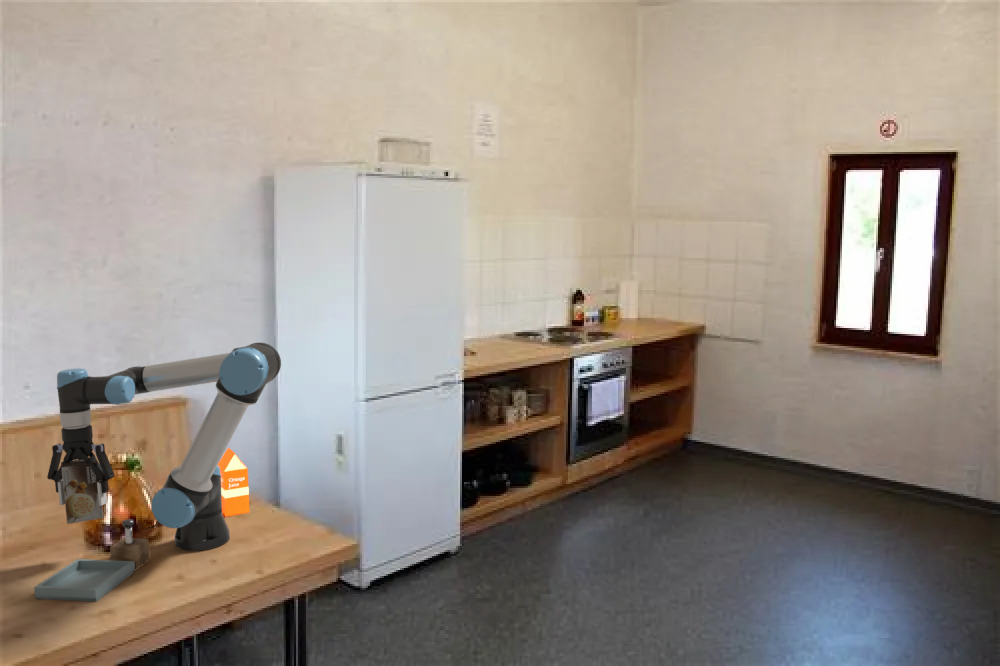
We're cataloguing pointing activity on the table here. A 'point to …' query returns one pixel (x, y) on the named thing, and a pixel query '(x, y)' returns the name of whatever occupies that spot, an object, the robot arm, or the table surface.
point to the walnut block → (131, 551)
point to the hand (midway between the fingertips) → (83, 503)
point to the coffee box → (80, 491)
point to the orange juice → (233, 485)
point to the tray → (84, 580)
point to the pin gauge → (128, 531)
